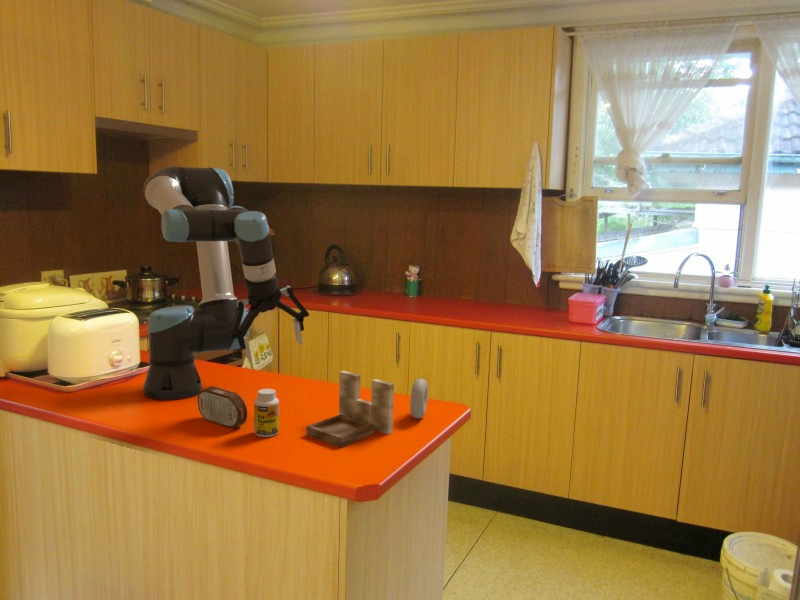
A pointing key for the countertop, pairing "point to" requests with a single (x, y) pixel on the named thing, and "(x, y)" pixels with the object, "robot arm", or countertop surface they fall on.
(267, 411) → the supplement bottle
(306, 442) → the countertop surface
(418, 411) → the donut
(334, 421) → the square tray
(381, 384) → the notched board
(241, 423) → the tin
